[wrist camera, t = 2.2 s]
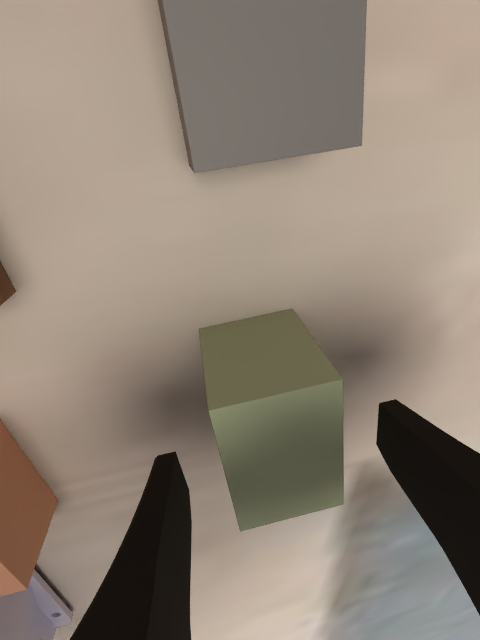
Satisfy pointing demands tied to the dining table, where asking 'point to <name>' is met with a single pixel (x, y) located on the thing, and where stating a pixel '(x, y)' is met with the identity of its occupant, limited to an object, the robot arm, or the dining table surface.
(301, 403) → the sage brick
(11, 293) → the walnut block
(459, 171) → the dining table surface
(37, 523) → the terracotta brick
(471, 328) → the dining table surface
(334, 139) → the charcoal brick
